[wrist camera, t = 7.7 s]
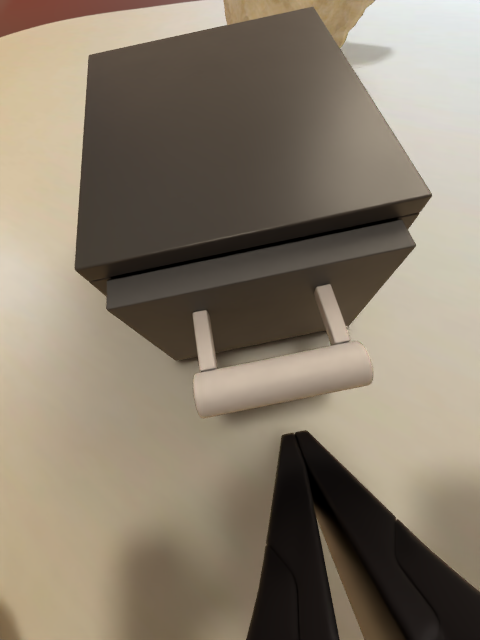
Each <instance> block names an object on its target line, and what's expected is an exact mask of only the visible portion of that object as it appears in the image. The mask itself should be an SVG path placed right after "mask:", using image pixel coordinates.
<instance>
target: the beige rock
mask: <svg viewBox="0 0 480 640" xmlns="http://www.w3.org/2000/svg"><path fill="white" fill-rule="evenodd" d="M374 1H375V0H224V6H225V16H226V21H227V25H230V24H235V23H239V22H244V21H249V20H253V19H258V18H262V17H267V16H272V15H276V14H281V13H286V12H290V11H295V10H299V9H304V8H309V7H314V8H315V10H316V11H317V13H318V15H319V16H320V18H321V19H322V21H323V22H324V24H325V26H326V27H327V29H328V30H329V32H330V34H331V35H332V37H333V38H334V40H335V41H336V43H337V45H338V46H339V48H340V47H341V46H342V45H343V44H344V42H345V41H346V38H347V35H348V32H349V31H350V30H351V29H352V28H353V27H354V26H355V25H356V23H357V21H358V20H359V19H360V17H361V16H362V15H363V13H364V11H365V9H366V8H367V7H368V6H370V5H371V4H372V3H373V2H374Z"/></svg>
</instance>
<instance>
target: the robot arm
mask: <svg viewBox="0 0 480 640" xmlns="http://www.w3.org/2000/svg"><path fill="white" fill-rule="evenodd" d="M316 518H317V519H316ZM317 520H318V523H319V525H320V528H321V530H322V533H323V535H324V538H325V541H326V543H327V546H328V548H329V551H330V553H331V556H332V558H333V561H334V563H335V566H336V568H337V571H338V574H339V576H340V579H341V581H342V584H343V586H344V589H345V591H346V594H347V596H348V599H349V601H350V604H351V606H352V609H353V612H354V614H355V617H356V619H357V622H358V624H359V627H360V629H361V632H362V634H363V637H364V639H365V640H480V592H479V591H478V590H477V589H475V588H474V587H473V586H472V585H471V584H469V583H468V582H467V581H466V580H465V579H463V578H462V577H461V576H460V575H459V574H457V573H456V572H455V571H454V570H453V569H452V568H450V567H449V566H448V565H447V564H446V563H445V562H443V561H442V560H441V559H440V558H439V557H438V556H437V555H435V554H434V553H433V552H432V551H431V550H430V549H429V548H428V547H427V546H426V545H424V544H423V543H422V542H421V541H420V540H419V539H418V538H417V537H416V536H415V535H414V534H413V533H412V532H411V531H410V530H409V529H408V528H407V527H406V526H404V525H403V524H402V523H401V522H400V521H399V520H398V519H397V520H396V517H395V516H394V515H393V514H392V513H391V512H390V511H389V510H388V509H387V508H386V507H385V506H384V505H383V504H382V503H381V502H380V501H379V500H378V499H377V498H376V497H375V496H374V495H373V494H372V493H370V492H369V491H368V490H367V489H366V488H365V487H364V486H363V485H362V484H361V483H360V482H359V481H358V480H357V479H356V478H355V477H354V476H353V475H352V474H351V473H350V472H349V471H348V470H347V469H346V468H345V467H344V466H343V465H342V464H341V463H340V462H339V461H338V460H337V459H336V458H335V457H334V456H333V455H332V454H331V453H329V452H328V451H327V450H326V449H325V448H324V447H323V446H322V445H321V444H320V443H319V442H318V441H317V440H316V439H315V438H314V437H313V436H312V435H311V434H310V433H309V432H308V431H306V430H305V431H300V432H296V433H295V434H294V433H290V434H285V435H282V438H281V444H280V451H279V458H278V465H277V472H276V479H275V486H274V493H273V500H272V507H271V513H270V520H269V527H268V534H267V541H266V544H267V545H266V547H265V553H264V560H263V566H262V572H261V578H260V583H259V589H258V593H257V598H256V602H255V606H254V611H253V615H252V619H251V623H250V627H249V631H248V635H247V639H246V640H339V635H338V629H337V624H336V619H335V613H334V608H333V603H332V598H331V592H330V587H329V582H328V577H327V571H326V566H325V561H324V555H323V550H322V545H321V540H320V534H319V529H318V524H317Z"/></svg>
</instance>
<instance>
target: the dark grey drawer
mask: <svg viewBox="0 0 480 640" xmlns="http://www.w3.org/2000/svg"><path fill="white" fill-rule="evenodd" d="M354 228H355V226H352V227H347V228H342V229H338V230H333V231H328V232H323V233H318V234H314V235H309V236H304V237H299V238H294V239H290V240H285V241H280V242H275V243H270V244H266V245H261V246H256V247H251V248H246V249H242V250H237V251H232V252H227V253H222V254H217V255H213V256H208V257H203V258H198V259H193V260H189V261H184V262H179V263H174V264H169V265H165V266H160V267H155V268H150V269H145V270H143V271H144V272H145V273H143V274H138V275H133V276H128V277H124V278H119V279H114V280H109V281H107V305H106V309H107V310H108V311H109V312H110V313H112V314H113V315H114V316H116V317H117V318H118V319H120V320H121V321H123V322H124V323H125V324H127V325H128V326H129V327H131V328H132V329H133V330H135V331H136V332H137V333H139V334H140V335H142V336H143V337H144V338H146V339H147V340H148V341H150V342H151V343H152V344H154V345H155V346H157V347H158V348H159V349H161V350H162V351H163V352H165V353H166V354H167V355H169V356H170V357H171V358H173V359H174V360H176V361H178V360H183V359H188V358H192V357H197V356H198V362H199V370H200V371H201V372H199V373H196V374H195V375H194V378H193V393H194V400H195V405H196V408H197V411H198V414H199V416H200V417H201V418H208V417H213V416H218V415H223V414H228V413H233V412H238V411H243V410H248V409H253V408H258V407H263V406H268V405H273V404H278V403H282V402H287V401H292V400H297V399H302V398H307V397H312V396H317V395H322V394H327V393H332V392H337V391H342V390H347V389H352V388H357V387H362V386H367V385H369V384H371V383H372V380H373V367H372V363H371V360H370V357H369V355H368V352H367V351H366V349H365V347H364V346H363V345H362V344H361V343H360V342H358V341H352V342H349V341H350V336H349V334H348V331H347V328H346V326H349V325H350V324H351V323H352V321H353V320H354V319H355V318H356V317H357V315H358V314H359V313H360V312H361V311H362V309H363V308H364V307H365V306H366V305H367V304H368V302H369V301H370V300H371V299H372V298H373V296H374V295H375V294H376V293H377V292H378V290H379V289H380V288H381V287H382V286H383V285H384V283H385V282H386V281H387V280H388V279H389V277H390V276H391V275H392V274H393V273H394V271H395V270H396V269H397V268H398V267H399V266H400V264H401V263H402V262H403V261H404V260H405V258H406V257H407V256H408V255H409V254H410V252H411V251H412V250H413V249H414V248H415V247H416V244H415V242H414V240H413V239H412V237H411V235H410V233H409V231H408V229H407V228H406V226H405V224H404V222H403V220H398V221H393V222H388V223H383V224H378V225H374V226H369V227H364V228H359V229H354ZM325 330H326V332H327V335H328V338H329V341H330V344H331V346H327V347H322V348H317V349H312V350H307V351H302V352H298V353H293V354H288V355H283V356H278V357H273V358H268V359H263V360H258V361H253V362H248V363H244V364H239V365H234V366H229V367H224V368H219V369H218V368H217V362H216V355H215V353H217V352H222V351H227V350H232V349H237V348H241V347H246V346H251V345H256V344H261V343H266V342H271V341H276V340H281V339H285V338H290V337H295V336H300V335H305V334H310V333H315V332H320V331H325Z"/></svg>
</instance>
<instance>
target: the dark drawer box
mask: <svg viewBox="0 0 480 640" xmlns="http://www.w3.org/2000/svg"><path fill="white" fill-rule="evenodd" d="M431 197H432V193H431V192H430V190H429V189H428V187H427V186H426V184H425V182H424V181H423V179H422V178H421V176H420V174H419V173H418V171H417V170H416V168H415V167H414V165H413V163H412V162H411V160H410V159H409V157H408V155H407V154H406V152H405V151H404V149H403V148H402V146H401V144H400V143H399V141H398V140H397V138H396V136H395V135H394V133H393V132H392V130H391V129H390V127H389V125H388V124H387V122H386V121H385V119H384V117H383V116H382V114H381V113H380V111H379V110H378V108H377V106H376V105H375V103H374V102H373V100H372V98H371V97H370V95H369V94H368V92H367V91H366V89H365V87H364V86H363V84H362V83H361V81H360V79H359V78H358V76H357V75H356V73H355V72H354V70H353V68H352V67H351V65H350V64H349V62H348V60H347V59H346V57H345V56H344V54H343V53H342V51H341V49H340V48H339V46H338V45H337V43H336V41H335V40H334V38H333V37H332V35H331V34H330V32H329V30H328V29H327V27H326V26H325V24H324V22H323V21H322V19H321V18H320V16H319V15H318V13H317V11H316V10H315V8H314V7H309V8H304V9H299V10H295V11H290V12H286V13H281V14H276V15H272V16H267V17H262V18H258V19H253V20H249V21H244V22H239V23H235V24H230V25H226V26H221V27H216V28H212V29H207V30H202V31H198V32H193V33H189V34H184V35H179V36H175V37H170V38H166V39H161V40H156V41H152V42H147V43H143V44H138V45H133V46H129V47H124V48H119V49H115V50H110V51H106V52H101V53H96V54H92V55H89V60H88V75H87V90H86V105H85V120H84V135H83V150H82V165H81V180H80V195H79V210H78V225H77V240H76V255H75V270H76V272H78V273H79V274H80V275H81V276H83V277H84V278H85V279H86V280H87V281H89V282H90V283H91V284H92V285H93V286H94V287H96V288H97V289H98V290H99V291H101V292H102V293H103V294H104V295H105V296H107V281H109V280H114V279H119V278H124V277H128V276H133V275H138V274H143V273H145V272H144V271H143V270H145V269H150V268H155V267H160V266H165V265H169V264H174V263H179V262H184V261H189V260H193V259H198V258H203V257H208V256H213V255H217V254H222V253H227V252H232V251H237V250H242V249H246V248H251V247H256V246H261V245H266V244H270V243H275V242H280V241H285V240H290V239H294V238H299V237H304V236H309V235H314V234H318V233H323V232H328V231H333V230H338V229H342V228H347V227H352V226H355V228H354V229H359V228H364V227H369V226H374V225H378V224H383V223H388V222H393V221H398V220H403V222H404V224H405V226H406V228H407V229H409V227H410V226H411V225H412V223H413V222H414V220H415V219H416V218H417V216H418V215H419V212H420V211H421V210H422V209H423V208H424V206H425V205H426V204H427V202H428V201H429V199H430V198H431Z"/></svg>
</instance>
